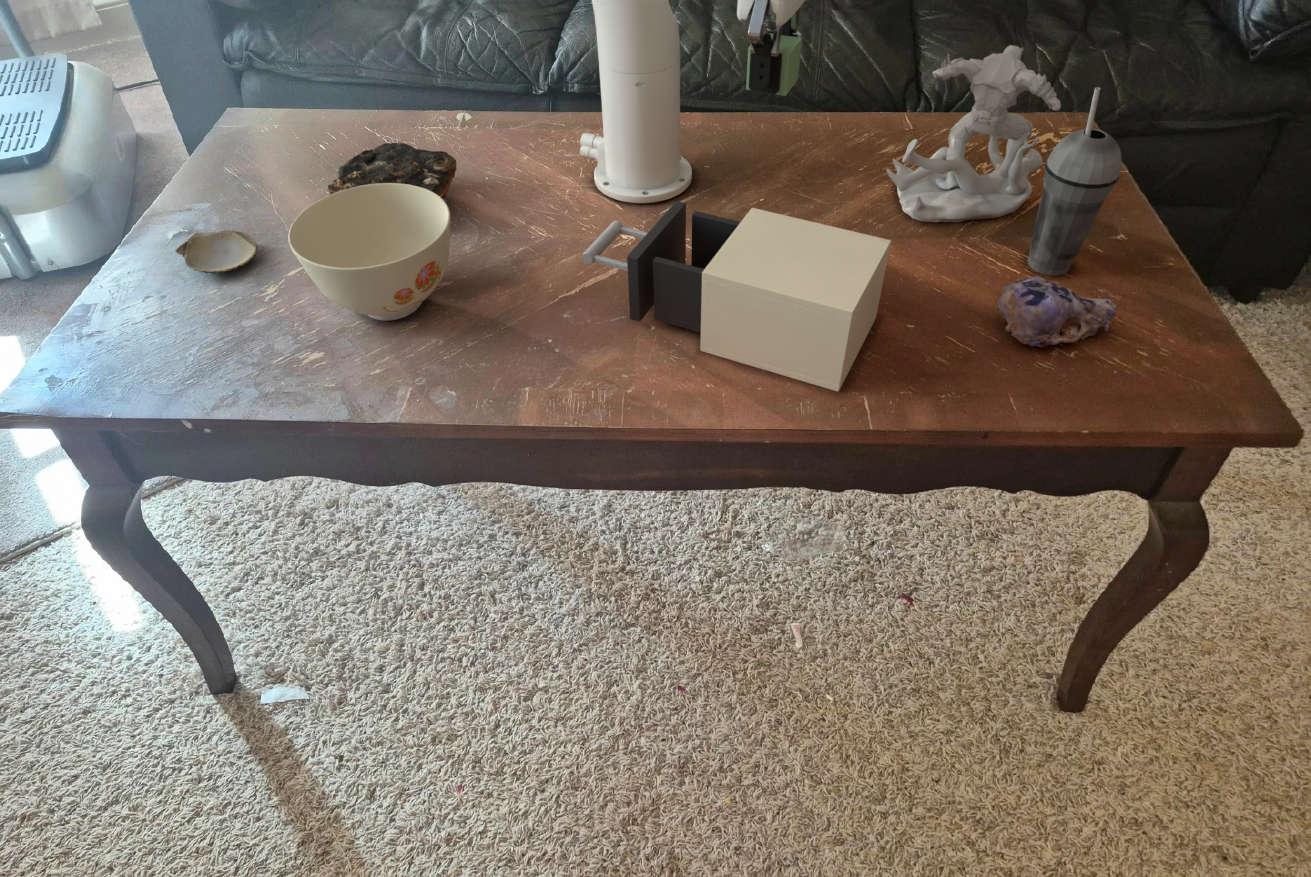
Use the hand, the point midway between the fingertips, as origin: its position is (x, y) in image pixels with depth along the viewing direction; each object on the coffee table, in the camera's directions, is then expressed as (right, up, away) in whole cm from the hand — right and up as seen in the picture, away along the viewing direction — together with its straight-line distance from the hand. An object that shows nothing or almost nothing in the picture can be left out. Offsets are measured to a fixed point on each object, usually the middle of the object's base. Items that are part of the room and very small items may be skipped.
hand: (771, 79), depth 93 cm
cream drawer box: (+1, -27, -3) cm, 28 cm away
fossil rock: (-44, -10, +16) cm, 48 cm away
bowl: (-41, -24, +2) cm, 47 cm away
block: (0, 0, 0) cm, 1 cm away
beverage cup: (+32, -19, +5) cm, 37 cm away
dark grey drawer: (-10, -23, +1) cm, 25 cm away
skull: (+28, -27, -3) cm, 39 cm away
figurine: (+25, -9, +15) cm, 31 cm away
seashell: (-63, -18, +9) cm, 66 cm away
